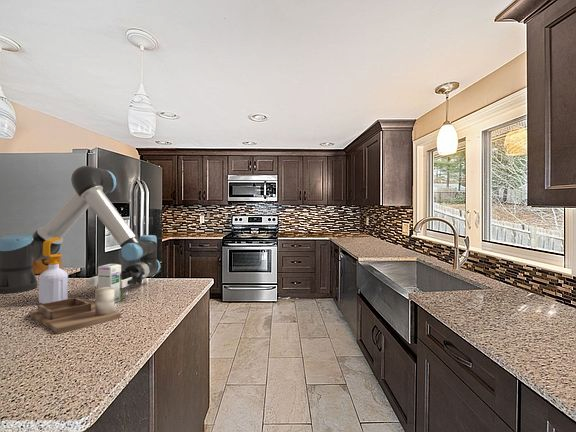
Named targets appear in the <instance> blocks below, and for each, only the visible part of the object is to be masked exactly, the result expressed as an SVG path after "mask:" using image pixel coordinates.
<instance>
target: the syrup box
mask: <svg viewBox="0 0 576 432" xmlns="http://www.w3.org/2000/svg"><path fill="white" fill-rule="evenodd" d="M121 271H122V264H119V263H108V264H104V265H99V266H98V267H97V274H98V283H97V289H98V288H103V287H113V288H115V302H114V304H115V303H117V302H120V301H122V288H120V283H121Z"/></svg>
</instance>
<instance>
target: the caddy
mask: <svg viewBox="0 0 576 432" xmlns="http://www.w3.org/2000/svg"><path fill="white" fill-rule="evenodd" d="M94 300H95V301H93V300H90V299H88V298H87V299H81V298H79V297H71V298H68V299H66V300H60V301H55V302H50V303H44V304H42V303H39V304H37V309H31V310H28V315H29V316H30V317H31V318H33V319H34V320H36V321H37V322H39V323H40V324H42V325H44V326H45V327H47V328H48V329H49V330H51V331H53V332H54V333H56V334H57V335H60V334H63V333H67V332H72V331H75V330H79V329H82V328H86V327H90V326H94V325H98V324H102V323H105V322H110V321H114V320H116V319H117V320H118V319H121V314H122V313H120V312H118V311H116V310H115V303H116V302H115V288H113V287H103V288H98V287H97V288H96V289H95V299H94ZM114 302H115V303H114Z"/></svg>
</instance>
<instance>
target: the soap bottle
mask: <svg viewBox="0 0 576 432" xmlns="http://www.w3.org/2000/svg"><path fill="white" fill-rule="evenodd" d="M60 239H61V238H60V237H54V238H51V239H48V240H46V241H44V242H43V255H44V256H47V257H50V259H51V262H50V263H49V268H48V269H47V270H46V271H44V272H43V273H41V274H39V277H38V303H39V304H44V303H50V302H55V301H60V300H66V299H69V297H68V295H69V294H68V293H69V289H68V288H69V274H68V272H67V271H66V270H64V269H62V268H61V269H60V268H59V262H57V259H58V257H59V256H61V257H63V254H61V253H60V254H53V255H50V245H51V243H52V242H54V241H57V240H60Z"/></svg>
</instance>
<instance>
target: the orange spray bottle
mask: <svg viewBox="0 0 576 432" xmlns="http://www.w3.org/2000/svg"><path fill="white" fill-rule="evenodd" d="M34 233H35V232H33V234H34ZM33 234H32V235H33ZM58 254H60V255H61V251H60V252H59V253H58ZM50 262H51V259H50V258H48V259H43V260H38V261H33V272H34V274H35V275H40V274H41V273H43V272H44V271H46V270H47V269H48V268H49V263H50ZM57 262H59V268H60V269H62V256H59V257H58V259H57Z"/></svg>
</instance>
